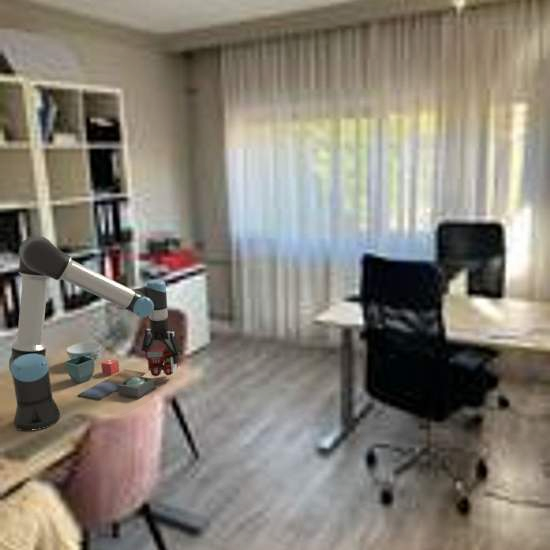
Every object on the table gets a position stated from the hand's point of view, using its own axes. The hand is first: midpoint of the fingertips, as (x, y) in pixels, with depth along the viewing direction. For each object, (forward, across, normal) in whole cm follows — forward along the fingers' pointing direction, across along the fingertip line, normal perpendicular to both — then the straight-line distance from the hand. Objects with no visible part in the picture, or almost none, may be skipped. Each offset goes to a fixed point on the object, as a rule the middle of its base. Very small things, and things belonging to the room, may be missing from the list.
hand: (162, 369), depth 240 cm
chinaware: (+5, +45, -2) cm, 45 cm away
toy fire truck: (+2, 0, 0) cm, 2 cm away
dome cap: (+3, +1, +16) cm, 16 cm away
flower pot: (+5, +32, +14) cm, 35 cm away
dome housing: (+4, +1, +16) cm, 16 cm away
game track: (+4, +16, +13) cm, 21 cm away
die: (+4, +26, +3) cm, 26 cm away
